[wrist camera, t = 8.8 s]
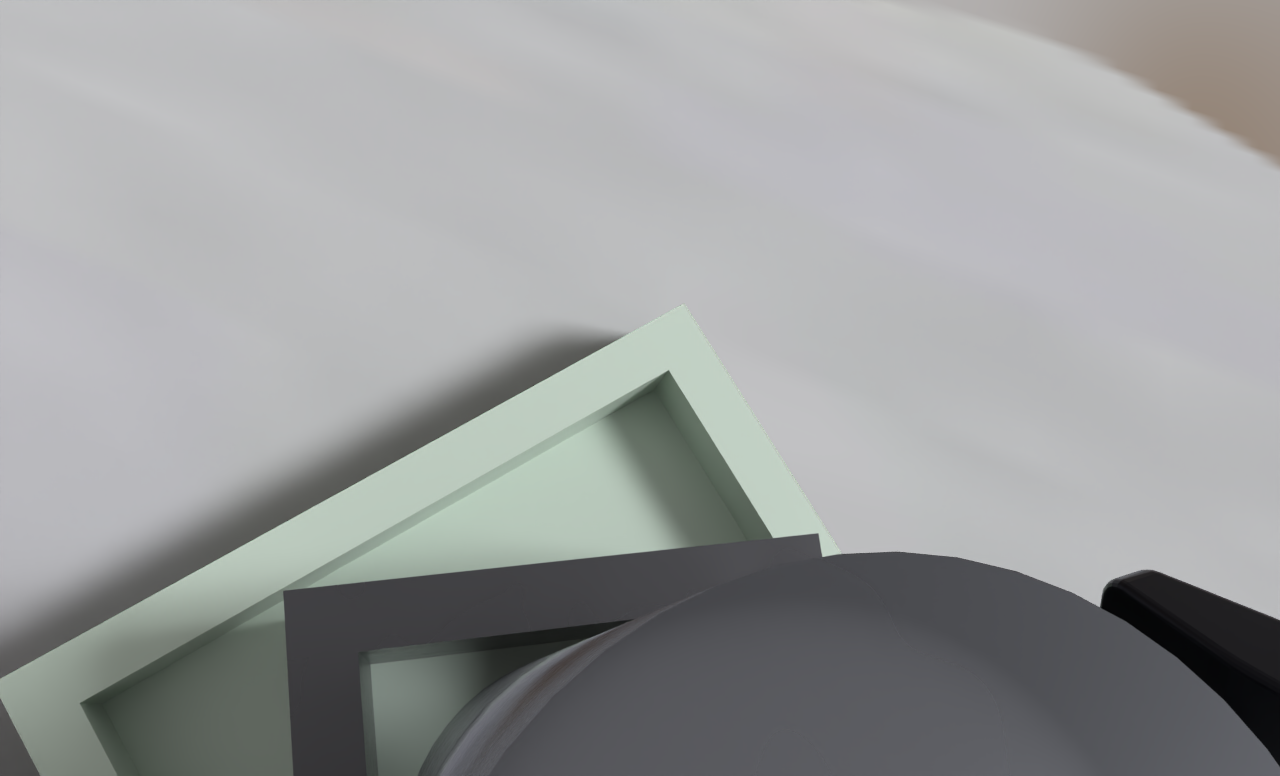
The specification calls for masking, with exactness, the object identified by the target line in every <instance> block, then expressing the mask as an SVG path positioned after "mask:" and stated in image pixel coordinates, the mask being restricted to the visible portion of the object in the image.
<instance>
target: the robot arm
mask: <svg viewBox="0 0 1280 776" xmlns="http://www.w3.org/2000/svg"><path fill="white" fill-rule="evenodd" d="M1100 608H1102V609H1103V610H1105V611H1107V612H1109V613H1111V614H1113V615H1115V616H1117V617H1118V618H1120V619H1122V620H1124V621H1126V622H1127V623H1129V624H1130V625H1132V626H1133V627H1134V628H1136V629H1137V630H1139V631H1140V632H1142V633H1143V634H1144V635H1146V636H1147V637H1149V638H1150V639H1151V640H1153V641H1154V642H1156V643H1157V644H1158V645H1160V646H1161V647H1163V648H1164V649H1166V650H1167V651H1168V652H1170V653H1171V654H1173V655H1174V656H1175V657H1177V658H1178V659H1179V660H1180V661H1181V662H1182V663H1184V664H1185V665H1186V666H1187V667H1188V668H1189V669H1190V670H1191V671H1192V672H1194V673H1195V674H1196V675H1197V676H1198V677H1199V678H1200V679H1201V680H1202V681H1203V682H1205V683H1206V684H1207V685H1208V686H1209V687H1210V688H1211V689H1212V690H1213V691H1215V692H1216V693H1217V694H1218V695H1219V696H1220V697H1221V698H1222V699H1223V700H1224V701H1225V702H1226V703H1227V704H1228V705H1229V706H1230V707H1231V709H1232V710H1233V711H1234V712H1235V713H1236V714H1237V715H1238V716H1239V718H1240V719H1241V720H1242V721H1243V722H1244V723H1245V724H1246V726H1247V727H1248V728H1249V729H1250V730H1251V731H1252V732H1253V734H1254V735H1255V736H1256V737H1257V738H1258V739H1259V740H1260V741H1261V743H1262V744H1263V745H1264V746H1265V747H1266V748H1267V750H1268V751H1269V752H1270V754H1271V755H1272V757H1273V758H1274V760H1275V761H1276V762H1277V764H1278V765H1279V767H1280V620H1278V619H1276V618H1273V617H1271V616H1268V615H1266V614H1263V613H1261V612H1258V611H1256V610H1253V609H1251V608H1248V607H1246V606H1243V605H1241V604H1238V603H1236V602H1233V601H1231V600H1228V599H1226V598H1223V597H1221V596H1218V595H1216V594H1213V593H1211V592H1208V591H1206V590H1203V589H1201V588H1198V587H1196V586H1193V585H1191V584H1188V583H1185V582H1183V581H1180V580H1178V579H1175V578H1173V577H1170V576H1168V575H1165V574H1163V573H1160V572H1157V571H1154V570H1141V571H1137V572H1134V573H1131V574H1128V575H1125V576H1122V577H1118V578H1115V579H1113V580H1111V581H1109V582H1108V584H1107V585H1106V586H1105V588H1104V590H1103V593H1102V598H1101V605H1100Z"/></svg>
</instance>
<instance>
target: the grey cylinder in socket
mask: <svg viewBox="0 0 1280 776" xmlns="http://www.w3.org/2000/svg"><path fill="white" fill-rule="evenodd" d="M283 596H284V614H285V633H286V651H287V669H288V687H289V705H290V724H291V742H292V760H293V776H378V765H377V751H376V736H375V722H374V708H373V694H372V680H371V666H370V664H378V663H387V662H395V661H403V660H411V659H420V658H428V657H436V656H444V655H453V654H461V653H469V652H477V651H486V650H494V649H502V648H510V647H519V646H527V645H535V644H544V643H552V642H560V641H568V640H577V639H585V638H589V639H586V640H584V641H581V642H579V643H577V644H574V645H572V646H569V647H567V648H565V649H562V650H560V651H557V652H555V653H552V654H550V655H548V656H545V657H543V658H540V659H538V660H536V661H533V662H531V663H528V664H526V665H524V666H522V667H520V668H518V669H516V670H514V671H512V672H510V673H508V674H506V675H504V676H502V677H501V678H499V679H498V680H496V681H495V682H493V683H492V684H490V685H489V686H487V687H486V688H484V689H483V690H482V691H481V692H479V693H478V694H477V695H476V696H475V697H474V698H472V699H471V700H470V701H469V702H468V703H467V704H465V705H464V706H463V708H462V709H461V710H460V711H459V712H458V713H457V714H456V715H455V716H454V718H453V719H452V720H451V721H450V722H449V723H448V724H447V726H446V727H445V728H444V730H443V731H442V733H441V734H440V736H439V737H438V738H437V740H436V741H435V743H434V744H433V746H432V747H431V749H430V751H429V753H428V755H427V757H426V759H425V761H424V763H423V765H422V766H421V768H420V770H419V773H418V776H1280V767H1279V765H1278V764H1277V762H1276V761H1275V760H1274V758H1273V757H1272V755H1271V754H1270V752H1269V751H1268V750H1267V748H1266V747H1265V746H1264V745H1263V744H1262V743H1261V741H1260V740H1259V739H1258V738H1257V737H1256V736H1255V735H1254V734H1253V732H1252V731H1251V730H1250V729H1249V728H1248V727H1247V726H1246V724H1245V723H1244V722H1243V721H1242V720H1241V719H1240V718H1239V716H1238V715H1237V714H1236V713H1235V712H1234V711H1233V710H1232V709H1231V707H1230V706H1229V705H1228V704H1227V703H1226V702H1225V701H1224V700H1223V699H1222V698H1221V697H1220V696H1219V695H1218V694H1217V693H1216V692H1215V691H1213V690H1212V689H1211V688H1210V687H1209V686H1208V685H1207V684H1206V683H1205V682H1203V681H1202V680H1201V679H1200V678H1199V677H1198V676H1197V675H1196V674H1195V673H1194V672H1192V671H1191V670H1190V669H1189V668H1188V667H1187V666H1186V665H1185V664H1184V663H1182V662H1181V661H1180V660H1179V659H1178V658H1177V657H1175V656H1174V655H1173V654H1171V653H1170V652H1168V651H1167V650H1166V649H1164V648H1163V647H1161V646H1160V645H1158V644H1157V643H1156V642H1154V641H1153V640H1151V639H1150V638H1149V637H1147V636H1146V635H1144V634H1143V633H1142V632H1140V631H1139V630H1137V629H1136V628H1134V627H1133V626H1132V625H1130V624H1129V623H1127V622H1126V621H1124V620H1122V619H1120V618H1118V617H1117V616H1115V615H1113V614H1111V613H1109V612H1107V611H1105V610H1103V609H1102V608H1100V607H1098V606H1096V605H1094V604H1092V603H1090V602H1089V601H1087V600H1085V599H1083V598H1081V597H1079V596H1077V595H1075V594H1074V593H1072V592H1069V591H1066V590H1064V589H1061V588H1058V587H1056V586H1053V585H1051V584H1048V583H1045V582H1043V581H1040V580H1037V579H1035V578H1032V577H1030V576H1027V575H1024V574H1022V573H1019V572H1016V571H1012V570H1008V569H1004V568H1000V567H996V566H991V565H987V564H983V563H979V562H974V561H970V560H966V559H962V558H957V557H947V556H937V555H926V554H916V553H906V552H880V553H856V554H836V555H831V556H825V557H822V552H821V546H820V540H819V533H816V534H806V535H797V536H788V537H778V538H769V539H760V540H751V541H741V542H732V543H723V544H713V545H704V546H695V547H685V548H676V549H667V550H657V551H648V552H639V553H629V554H620V555H611V556H601V557H592V558H583V559H573V560H564V561H555V562H546V563H536V564H527V565H518V566H508V567H499V568H490V569H480V570H471V571H462V572H452V573H443V574H434V575H424V576H415V577H406V578H396V579H387V580H378V581H369V582H359V583H350V584H341V585H331V586H322V587H313V588H303V589H294V590H285V591H283Z"/></svg>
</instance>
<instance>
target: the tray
mask: <svg viewBox="0 0 1280 776" xmlns="http://www.w3.org/2000/svg"><path fill="white" fill-rule="evenodd" d="M816 533H819V540H820V546H821V552H822V557H825V556H831V555H836V554H842V553H841V551H840V550H839V548H838V547H837V545H836V543H835V542H834V540H833V539H832V537H831V535H830V534H829V532H828V531H827V529H826V527H825V526H824V524H823V523H822V521H821V520H820V518H819V516H818V515H817V513H816V512H815V510H814V508H813V507H812V505H811V504H810V502H809V500H808V499H807V497H806V496H805V494H804V493H803V491H802V489H801V488H800V486H799V485H798V483H797V481H796V480H795V478H794V477H793V475H792V474H791V472H790V470H789V469H788V467H787V466H786V464H785V462H784V461H783V459H782V458H781V456H780V454H779V453H778V451H777V450H776V448H775V447H774V445H773V443H772V442H771V440H770V439H769V437H768V435H767V434H766V432H765V431H764V429H763V427H762V426H761V424H760V423H759V421H758V420H757V418H756V416H755V415H754V413H753V412H752V410H751V408H750V407H749V405H748V404H747V402H746V401H745V399H744V397H743V396H742V394H741V393H740V391H739V389H738V388H737V386H736V385H735V383H734V381H733V380H732V378H731V377H730V375H729V374H728V372H727V370H726V369H725V367H724V366H723V364H722V362H721V361H720V359H719V358H718V356H717V354H716V353H715V351H714V350H713V348H712V347H711V345H710V343H709V342H708V340H707V339H706V337H705V335H704V334H703V332H702V331H701V329H700V328H699V326H698V324H697V323H696V321H695V320H694V318H693V316H692V315H691V313H690V312H689V310H688V308H687V307H686V305H685V304H682V305H680V306H678V307H676V308H675V309H673V310H671V311H669V312H667V313H665V314H664V315H662V316H660V317H658V318H656V319H655V320H653V321H651V322H649V323H647V324H645V325H644V326H642V327H640V328H638V329H636V330H635V331H633V332H631V333H629V334H627V335H625V336H624V337H622V338H620V339H618V340H616V341H614V342H613V343H611V344H609V345H607V346H605V347H604V348H602V349H600V350H598V351H596V352H594V353H593V354H591V355H589V356H587V357H585V358H584V359H582V360H580V361H578V362H576V363H574V364H573V365H571V366H569V367H567V368H565V369H563V370H562V371H560V372H558V373H556V374H554V375H553V376H551V377H549V378H547V379H545V380H543V381H542V382H540V383H538V384H536V385H534V386H532V387H531V388H529V389H527V390H525V391H523V392H522V393H520V394H518V395H516V396H514V397H512V398H511V399H509V400H507V401H505V402H503V403H502V404H500V405H498V406H496V407H494V408H492V409H491V410H489V411H487V412H485V413H483V414H481V415H480V416H478V417H476V418H474V419H472V420H471V421H469V422H467V423H465V424H463V425H461V426H460V427H458V428H456V429H454V430H452V431H450V432H449V433H447V434H445V435H443V436H441V437H440V438H438V439H436V440H434V441H432V442H430V443H429V444H427V445H425V446H423V447H421V448H420V449H418V450H416V451H414V452H412V453H410V454H409V455H407V456H405V457H403V458H401V459H399V460H398V461H396V462H394V463H392V464H390V465H389V466H387V467H385V468H383V469H381V470H379V471H378V472H376V473H374V474H372V475H370V476H369V477H367V478H365V479H363V480H361V481H359V482H358V483H356V484H354V485H352V486H350V487H348V488H347V489H345V490H343V491H341V492H339V493H338V494H336V495H334V496H332V497H330V498H328V499H327V500H325V501H323V502H321V503H319V504H317V505H316V506H314V507H312V508H310V509H308V510H307V511H305V512H303V513H301V514H299V515H297V516H296V517H294V518H292V519H290V520H288V521H287V522H285V523H283V524H281V525H279V526H277V527H276V528H274V529H272V530H270V531H268V532H266V533H265V534H263V535H261V536H259V537H257V538H256V539H254V540H252V541H250V542H248V543H246V544H245V545H243V546H241V547H239V548H237V549H236V550H234V551H232V552H230V553H228V554H226V555H225V556H223V557H221V558H219V559H217V560H215V561H214V562H212V563H210V564H208V565H206V566H205V567H203V568H201V569H199V570H197V571H195V572H194V573H192V574H190V575H188V576H186V577H184V578H183V579H181V580H179V581H177V582H175V583H174V584H172V585H170V586H168V587H166V588H164V589H163V590H161V591H159V592H157V593H155V594H154V595H152V596H150V597H148V598H146V599H144V600H143V601H141V602H139V603H137V604H135V605H133V606H132V607H130V608H128V609H126V610H124V611H123V612H121V613H119V614H117V615H115V616H113V617H112V618H110V619H108V620H106V621H104V622H102V623H101V624H99V625H97V626H95V627H93V628H92V629H90V630H88V631H86V632H84V633H82V634H81V635H79V636H77V637H75V638H73V639H72V640H70V641H68V642H66V643H64V644H62V645H61V646H59V647H57V648H55V649H53V650H51V651H50V652H48V653H46V654H44V655H42V656H41V657H39V658H37V659H35V660H33V661H31V662H30V663H28V664H26V665H24V666H22V667H21V668H19V669H17V670H15V671H13V672H11V673H10V674H8V675H6V676H4V677H2V678H0V699H1V701H2V703H3V705H4V707H5V708H6V710H7V712H8V714H9V716H10V718H11V720H12V722H13V724H14V726H15V728H16V730H17V732H18V734H19V736H20V738H21V739H22V741H23V743H24V745H25V747H26V749H27V751H28V753H29V755H30V757H31V759H32V761H33V763H34V765H35V767H36V769H37V770H38V772H39V774H40V776H293V760H292V742H291V724H290V705H289V687H288V669H287V651H286V633H285V614H284V596H283V591H285V590H294V589H303V588H313V587H322V586H331V585H341V584H350V583H359V582H369V581H378V580H387V579H396V578H406V577H415V576H424V575H434V574H443V573H452V572H462V571H471V570H480V569H490V568H499V567H508V566H518V565H527V564H536V563H546V562H555V561H564V560H573V559H583V558H592V557H601V556H611V555H620V554H629V553H639V552H648V551H657V550H667V549H676V548H685V547H695V546H704V545H713V544H723V543H732V542H741V541H751V540H760V539H769V538H778V537H788V536H797V535H806V534H816ZM586 639H589V638H585V639H577V640H568V641H560V642H552V643H544V644H535V645H527V646H519V647H510V648H502V649H494V650H486V651H477V652H469V653H461V654H453V655H444V656H436V657H428V658H420V659H411V660H403V661H395V662H387V663H378V664H370V666H371V680H372V694H373V708H374V722H375V736H376V751H377V765H378V776H418V773H419V770H420V768H421V766H422V765H423V763H424V761H425V759H426V757H427V755H428V753H429V751H430V749H431V747H432V746H433V744H434V743H435V741H436V740H437V738H438V737H439V736H440V734H441V733H442V731H443V730H444V728H445V727H446V726H447V724H448V723H449V722H450V721H451V720H452V719H453V718H454V716H455V715H456V714H457V713H458V712H459V711H460V710H461V709H462V708H463V706H464V705H465V704H467V703H468V702H469V701H470V700H471V699H472V698H474V697H475V696H476V695H477V694H478V693H479V692H481V691H482V690H483V689H484V688H486V687H487V686H489V685H490V684H492V683H493V682H495V681H496V680H498V679H499V678H501V677H502V676H504V675H506V674H508V673H510V672H512V671H514V670H516V669H518V668H520V667H522V666H524V665H526V664H528V663H531V662H533V661H536V660H538V659H540V658H543V657H545V656H548V655H550V654H552V653H555V652H557V651H560V650H562V649H565V648H567V647H569V646H572V645H574V644H577V643H579V642H581V641H584V640H586Z"/></svg>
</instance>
